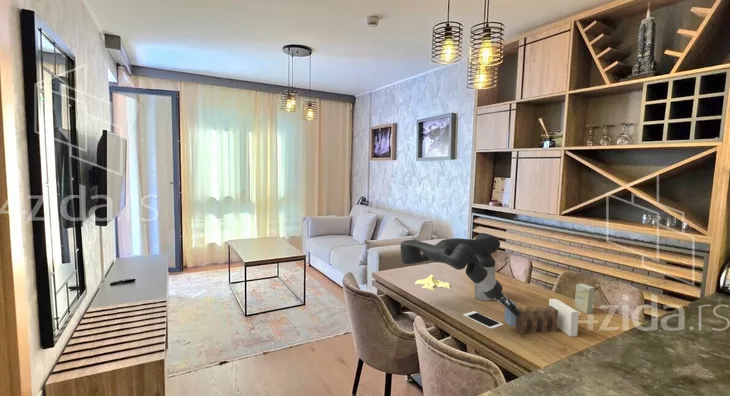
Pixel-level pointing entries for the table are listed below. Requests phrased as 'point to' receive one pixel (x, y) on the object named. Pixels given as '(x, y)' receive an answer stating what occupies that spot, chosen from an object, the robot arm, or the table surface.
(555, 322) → the walnut domino
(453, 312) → the table surface
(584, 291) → the skincare box
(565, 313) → the block
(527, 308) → the walnut domino
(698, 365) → the table surface
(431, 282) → the cloth
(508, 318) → the slate domino
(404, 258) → the robot arm
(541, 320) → the walnut domino
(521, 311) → the walnut domino
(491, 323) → the cell phone
